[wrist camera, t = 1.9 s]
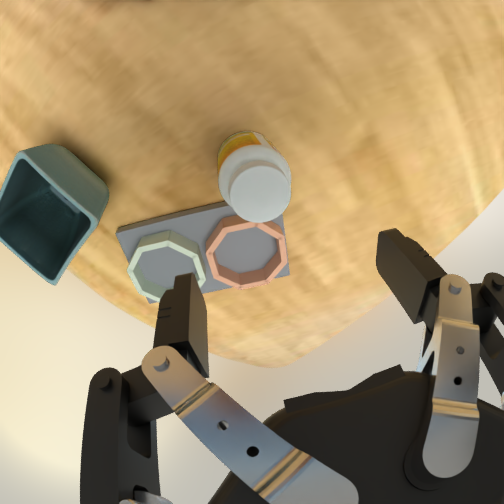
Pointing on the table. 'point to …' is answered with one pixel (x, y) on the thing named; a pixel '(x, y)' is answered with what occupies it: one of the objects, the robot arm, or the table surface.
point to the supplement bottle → (253, 177)
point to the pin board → (203, 250)
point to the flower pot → (49, 208)
